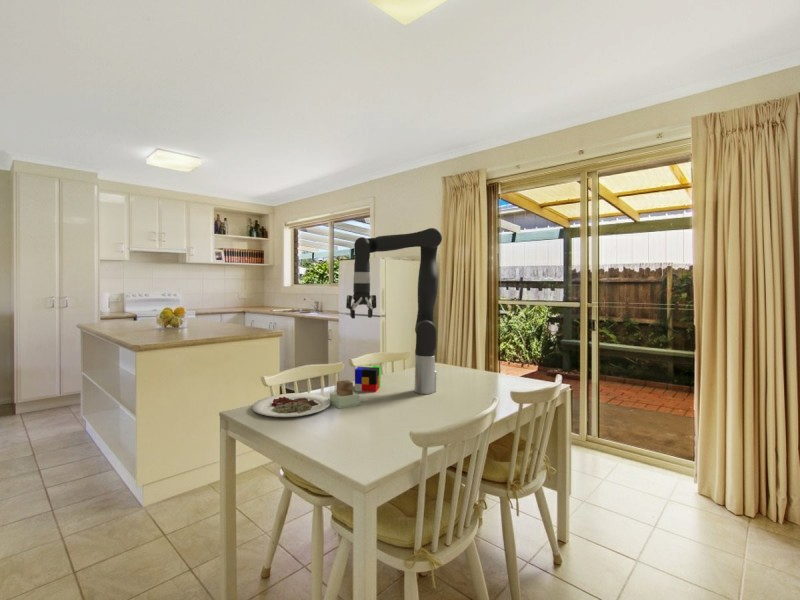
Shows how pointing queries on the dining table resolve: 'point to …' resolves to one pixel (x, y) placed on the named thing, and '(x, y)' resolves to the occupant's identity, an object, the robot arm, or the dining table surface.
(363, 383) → the puzzle toy
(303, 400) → the plated food
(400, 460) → the dining table surface
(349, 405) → the pedestal
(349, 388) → the walnut block
